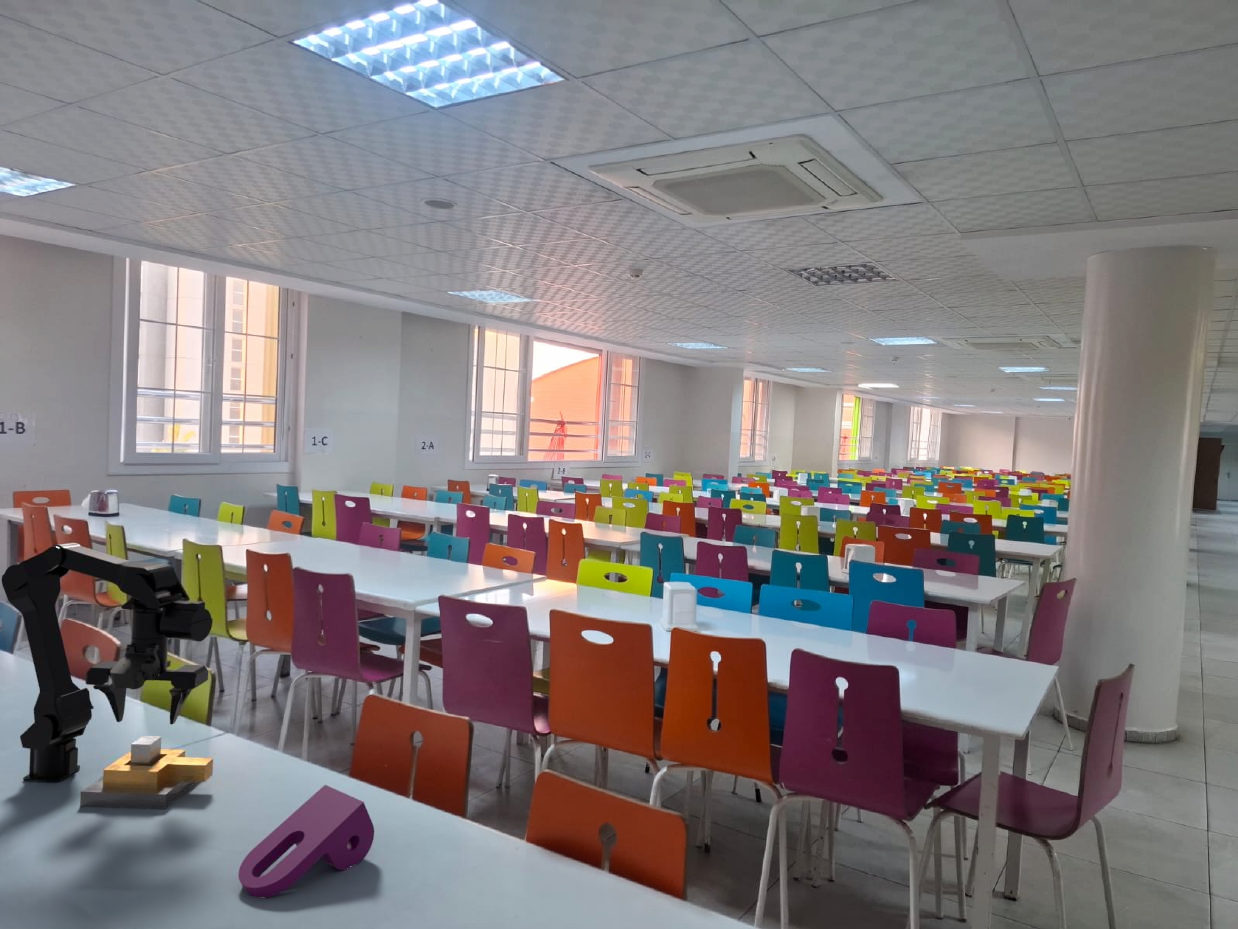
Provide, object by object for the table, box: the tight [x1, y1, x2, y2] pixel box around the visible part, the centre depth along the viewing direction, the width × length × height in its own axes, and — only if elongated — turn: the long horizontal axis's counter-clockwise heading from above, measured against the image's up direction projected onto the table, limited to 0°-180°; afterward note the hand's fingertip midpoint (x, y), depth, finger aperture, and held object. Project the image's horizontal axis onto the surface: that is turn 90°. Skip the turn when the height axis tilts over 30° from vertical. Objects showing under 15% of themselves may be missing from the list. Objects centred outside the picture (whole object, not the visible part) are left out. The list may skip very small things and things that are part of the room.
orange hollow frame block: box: [79, 748, 214, 810], centre depth 146 cm, size 18×14×6 cm
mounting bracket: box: [237, 784, 375, 898], centre depth 123 cm, size 9×8×18 cm
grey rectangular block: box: [130, 735, 162, 766], centre depth 146 cm, size 3×4×9 cm
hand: (146, 722), depth 147 cm, fingers open, 9 cm apart
